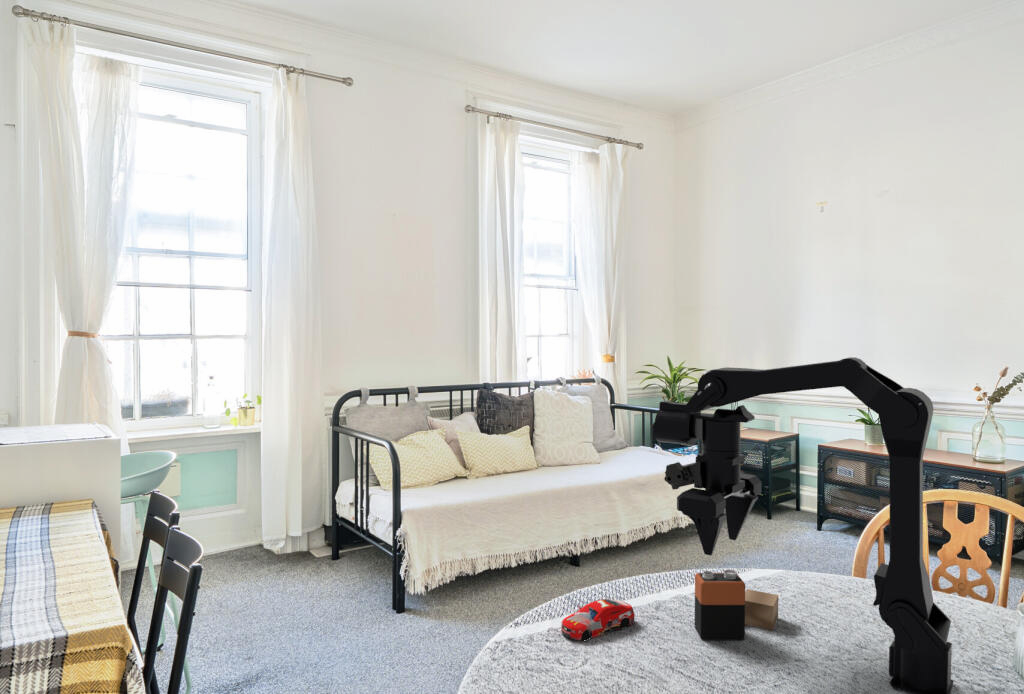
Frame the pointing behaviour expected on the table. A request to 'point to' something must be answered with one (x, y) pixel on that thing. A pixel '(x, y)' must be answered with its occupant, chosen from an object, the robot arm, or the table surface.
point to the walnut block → (761, 609)
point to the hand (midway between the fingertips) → (720, 546)
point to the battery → (720, 605)
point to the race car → (598, 619)
